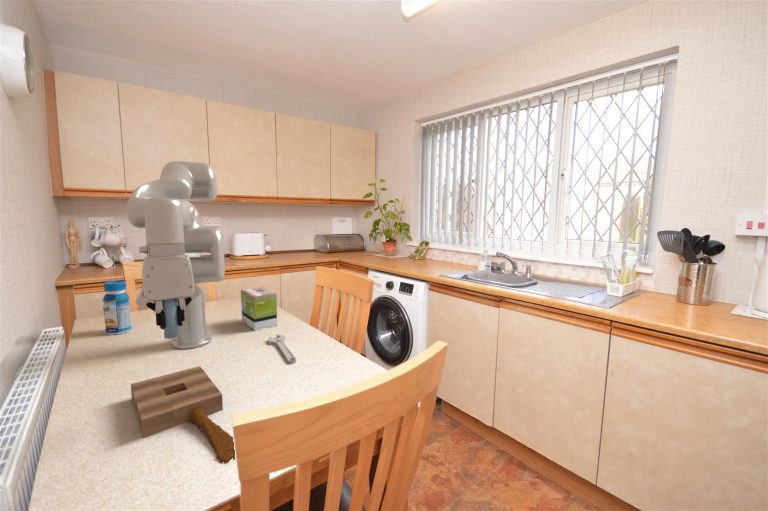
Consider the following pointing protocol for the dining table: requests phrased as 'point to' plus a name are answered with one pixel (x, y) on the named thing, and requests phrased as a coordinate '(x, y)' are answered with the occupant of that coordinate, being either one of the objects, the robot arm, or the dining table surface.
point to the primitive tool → (214, 435)
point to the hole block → (173, 399)
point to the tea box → (259, 308)
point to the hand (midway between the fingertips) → (171, 325)
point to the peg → (170, 318)
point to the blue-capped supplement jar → (116, 308)
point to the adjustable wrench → (283, 348)
